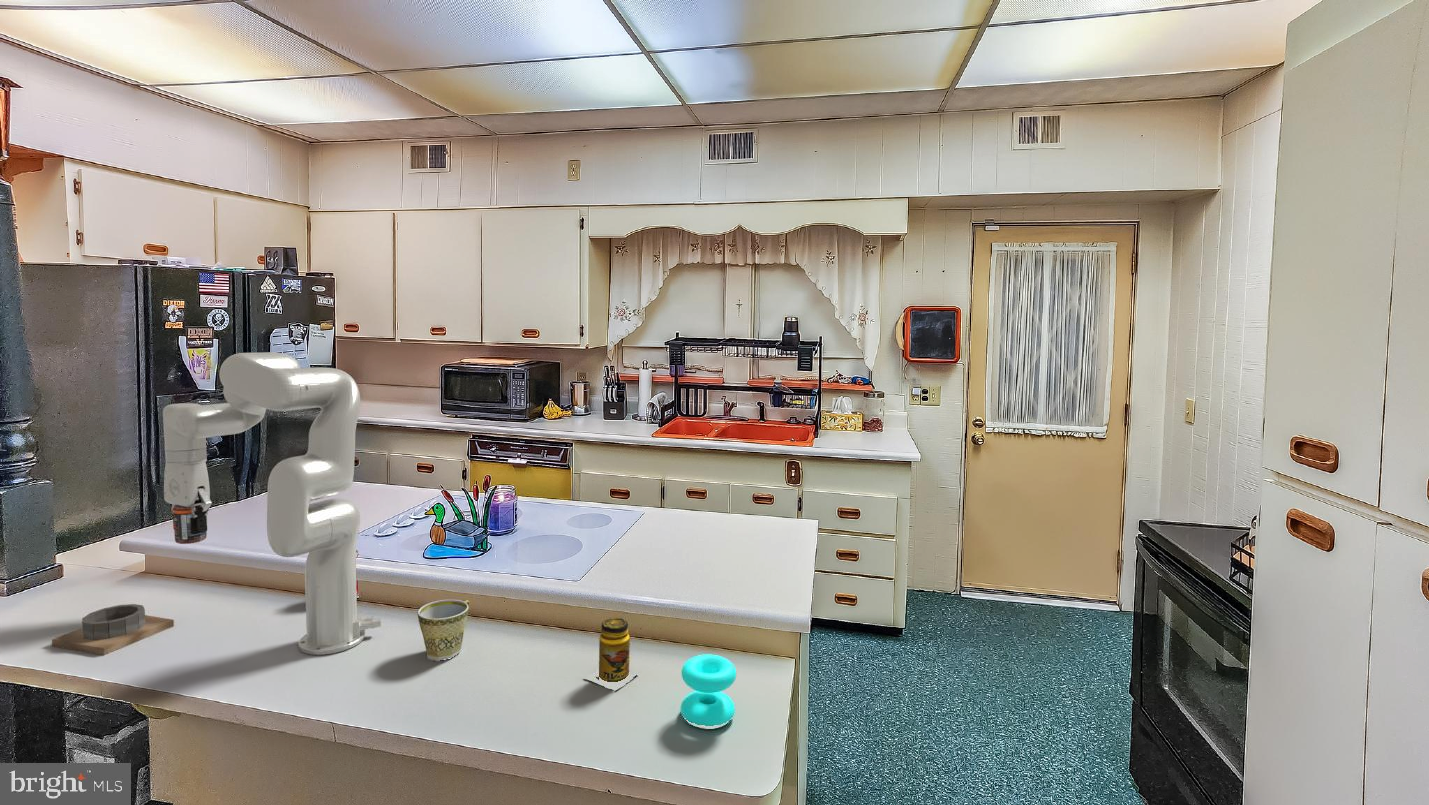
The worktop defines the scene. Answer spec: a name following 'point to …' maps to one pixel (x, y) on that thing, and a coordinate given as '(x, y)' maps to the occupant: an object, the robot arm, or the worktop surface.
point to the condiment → (614, 650)
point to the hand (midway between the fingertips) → (190, 530)
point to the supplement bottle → (185, 526)
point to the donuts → (708, 690)
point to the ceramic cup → (443, 627)
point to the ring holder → (112, 629)
